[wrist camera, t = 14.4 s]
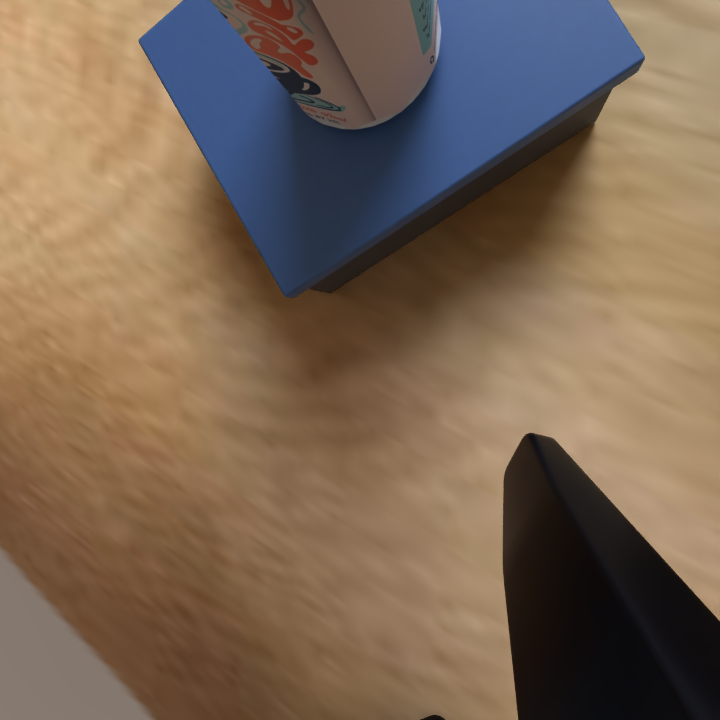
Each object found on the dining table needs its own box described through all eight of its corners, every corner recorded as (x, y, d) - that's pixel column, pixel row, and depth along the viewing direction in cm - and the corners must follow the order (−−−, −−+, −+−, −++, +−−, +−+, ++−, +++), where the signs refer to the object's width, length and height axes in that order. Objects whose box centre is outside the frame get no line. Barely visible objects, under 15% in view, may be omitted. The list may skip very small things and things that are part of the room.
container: (608, 123, 18) (647, 57, 14) (327, 304, 21) (284, 297, 17) (461, -107, 19) (453, -240, 15) (208, 98, 22) (136, 39, 17)
